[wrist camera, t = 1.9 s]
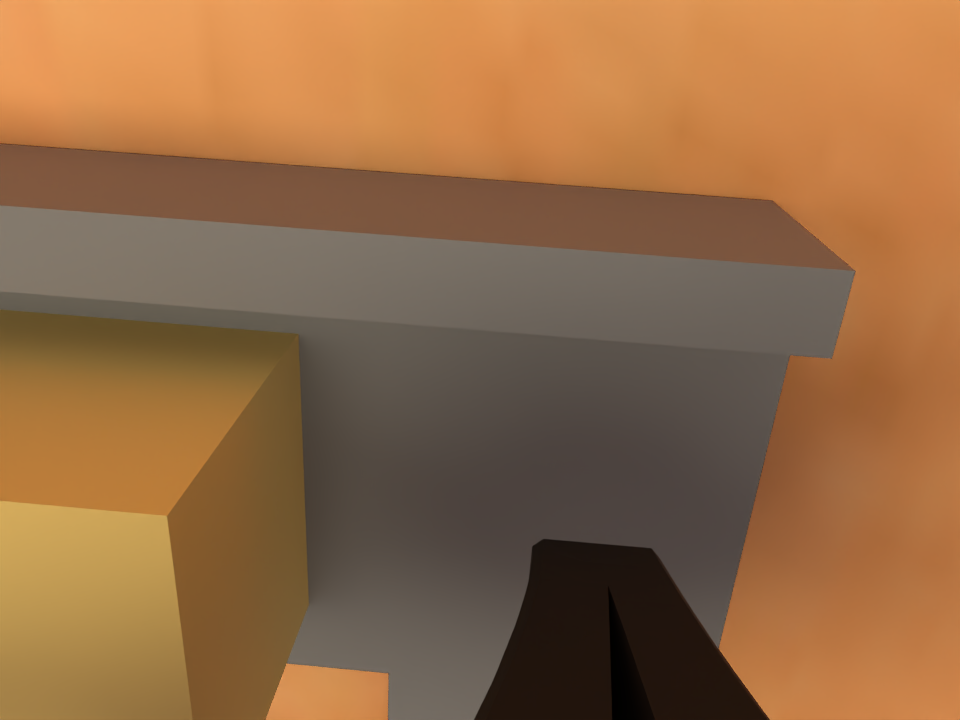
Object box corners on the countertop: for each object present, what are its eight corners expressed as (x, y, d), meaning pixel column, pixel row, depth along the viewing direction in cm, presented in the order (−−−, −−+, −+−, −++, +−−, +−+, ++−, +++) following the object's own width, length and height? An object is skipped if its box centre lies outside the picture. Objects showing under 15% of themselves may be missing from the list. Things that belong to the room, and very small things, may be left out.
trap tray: (772, 200, 11) (855, 270, 8) (633, 849, 17) (652, 1025, 14) (-578, 100, 12) (-942, 133, 9) (-267, 756, 18) (-426, 905, 15)
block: (297, 333, 10) (167, 516, 7) (308, 604, 12) (211, 862, 8) (-39, 306, 10) (-348, 469, 7) (22, 577, 12) (-195, 819, 9)
